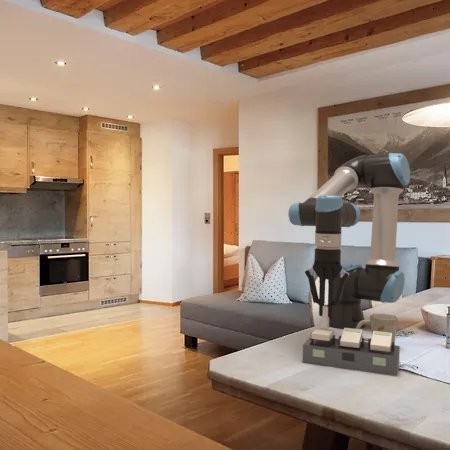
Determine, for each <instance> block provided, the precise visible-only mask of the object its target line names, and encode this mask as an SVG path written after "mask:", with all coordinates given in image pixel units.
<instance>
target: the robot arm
mask: <svg viewBox="0 0 450 450" xmlns="http://www.w3.org/2000/svg"><path fill="white" fill-rule="evenodd" d="M410 180H411V169H410V164H409V161H408V158H407V156H405V154H403V153H400V152H399V153H398V152H397V153H395V152H394V153H393V152H389V153H379V154H369V155H368V154H363V155H360V156H359V155H358V156H357V157H356V156H355V157H354V158H352V159H350V160H347V161H346V162H345V163H343V164H342V165H340V166H339V167H338V168H337V169H335V171H334V174H333V176H332V177H330V178H329V179H328V180H327V181H326V182H325V183H324V184H323V185H321V187H319V188H318V189H317V190H316V191H315V192H314V193H313V194H312V195H310V196H309V197H308V198H307V199H306V200H305V201H303V202H294V203H292V204H290V206H289V208H288V214H287V215H288V220H289V222H290V223H291V224H292V226H293V225H294V226H301V227H315V230H314V231H315V232H314V246H315V247H316V248H315V249H314V262H313V264H312V267H311V268H310V269H307V270H305V271H304V273H305V275H306V277H307V279H308V284H309V289H310V293H311V298H312V301H313V303H314V304H317V305H318V315H319V317H322V318H321V319H322V321H321V328H323V329H329V327H332V328H337V329H344V328H352V329H356V327H357V325H358V323H359V322H360V321H362V320H366V318H365V315H364V311H363V308H362V300H363V301H364V300H365V301H372V302H380V303H388V304H389V303H390V304H394V303H396V302H397V301H398V300H399V299H400V298H401V296H402V294H403V290H404V287H405V280H406V279H405V274H404V272H403V271H401V270H400V265H399V264H398V263H397V262H396V250H397V248H396V247H397V232H398V216H399V213H398V211H399V197H400V194H402V193H403V192H404V186H408V185H409V184H410ZM357 187H369V190H370V192H371V193H372V194H373V208H372V220H371V221H372V222H371V223H372V225H371V239H370V258H369V260H368V261H366V262H365V267H363V266H362V265H363V264H362V263H343V264H342V263H341V262H342V261H341V259H342V258H341V256H342V255H341V254H342V253H341V252H342V251H341V249H340V248H341V247H342V228H350V227H353V226H356V225H357V224H358V223H359V221H360V219H361V211H360V209H359V207H358V206H357V204H354V203H351V202H343V198H342V197H343V196H344V195H345V194H346V193H348V191H353V190H354V189H355V188H357ZM315 274H316V276H317V277H318V278H319V280H318V282H319V290H318V289H317V286H316V285H317V284H316V280H315ZM326 280H327V281H326ZM326 282H327V284H328V288H327V289H328V290H327V291H328V292H327V304H326V301H325V300H326ZM318 291H319V294H318ZM365 327H366V324H363V325H362V326H361V328H360V329H362V328H365Z"/></svg>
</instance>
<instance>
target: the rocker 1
mask: <svg viewBox="0 0 450 450" xmlns="http://www.w3.org/2000/svg"><path fill="white" fill-rule="evenodd" d="M333 335H335V329H330V328H328V329H325V328H322V327H317V328H316V329H314V331H312V332H310V337H311V339H319V340H327V341H329V340H330V339H331V338H332V336H333Z"/></svg>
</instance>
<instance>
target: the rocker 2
mask: <svg viewBox="0 0 450 450" xmlns="http://www.w3.org/2000/svg"><path fill="white" fill-rule="evenodd" d="M341 336H342V337H341V340H340V346H346V347H354V348H359V346H360V342H361V341H362V339H361V338H362V336H363V329H362V328H360V329H352V328H343V332H342V335H341Z"/></svg>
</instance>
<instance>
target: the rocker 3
mask: <svg viewBox="0 0 450 450" xmlns="http://www.w3.org/2000/svg"><path fill="white" fill-rule="evenodd" d="M391 342H392V333H389V332H379V331H373V335H372V334H371V344H370V350H378V351H386V352H390V349H391Z"/></svg>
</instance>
